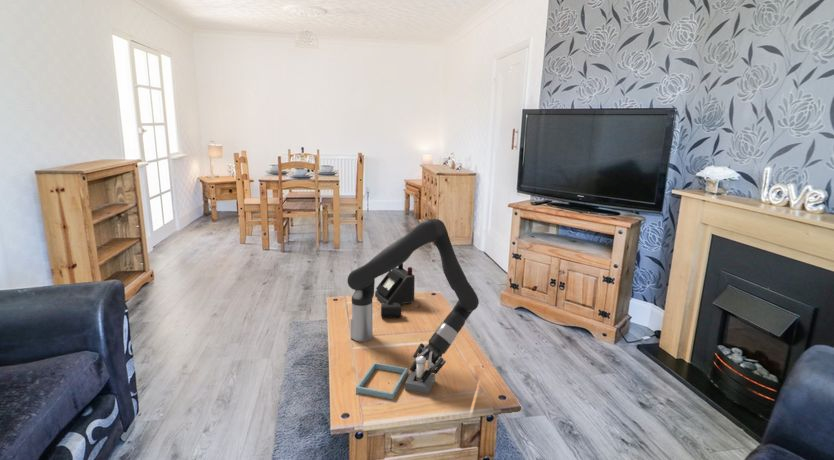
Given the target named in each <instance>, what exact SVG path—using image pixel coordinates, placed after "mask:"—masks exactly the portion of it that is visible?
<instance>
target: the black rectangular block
mask: <svg viewBox="0 0 834 460" xmlns="http://www.w3.org/2000/svg"><path fill="white" fill-rule="evenodd" d="M401 316H402V304H399V303H393V305H388V304H387V303H382V302H381V305H380V318H382V319H390V318H393V319H394V318H400V317H401Z"/></svg>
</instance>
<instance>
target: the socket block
mask: <svg viewBox="0 0 834 460" xmlns="http://www.w3.org/2000/svg"><path fill="white" fill-rule="evenodd" d="M410 371H411V370H410ZM416 373H417V370H415V371H414V372H412V371H411V372H410V374H409V375H408V377H407V378H406V381H405V383H404V391H406V392H411V393H416V394H417V393H418V394H422V395H427V396H428V395H430V393H431V390H432V388H433V387H434V385H435V382H436V374H435V373H431V374H430V375H429V377H428V378H427V380H425V381H424V382H425V383H424V382H418V381H416Z"/></svg>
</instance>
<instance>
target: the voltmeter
mask: <svg viewBox="0 0 834 460" xmlns="http://www.w3.org/2000/svg"><path fill="white" fill-rule="evenodd" d="M415 281H416V280H415V274H413V268H412V266H410V267H407V269H405V268H404V263H402V264H401V265H399V266H398V267H396V268H394V269H393V270H391V271H389V272H387V273H386V275H385V276H384V277H383V279H382V280H381V281H380V283H379V284H378V285H377V286H376V288H375V291H374V297H375V298H377V300H378V301H380V302H381V304H382V303H387V304H388V305H393V303H399V305H403V304H411V303H413V302H415Z"/></svg>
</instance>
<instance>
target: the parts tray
mask: <svg viewBox="0 0 834 460" xmlns="http://www.w3.org/2000/svg"><path fill="white" fill-rule="evenodd" d="M375 370H381V371H387V372H393V373H399V374H401V375H400V376H399V379H398V381H397V382H396V384H395V386H394V388H393V389H392V390H391V392H390V391H384V390H380V389H379V390H378V389H375V388H374V389H373V388H368V387H364V386H365V384H366V383H367V382H368V380H369V379H370V377H371V376H372V375H373V374H374V371H375ZM408 372H409V368H408V367H403V366H398V365H392V364H386V363H385V364H384V363H378V362H373V363H372V364H371V366H370V368H369V369H368V370H367V371H366V373H365V374H364V376H363V377H362V378H361V380H359V382H358V384H357V385H356V386H355V395H356V396H358V394H363V395H367V396H371V397H377V398H384V399H389V400H394V398H395V397H396V394H397V393H398V391H399V389H400V388H401V385H402V384H403V382H404V381H405V379H406V377H407V375H408Z"/></svg>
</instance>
